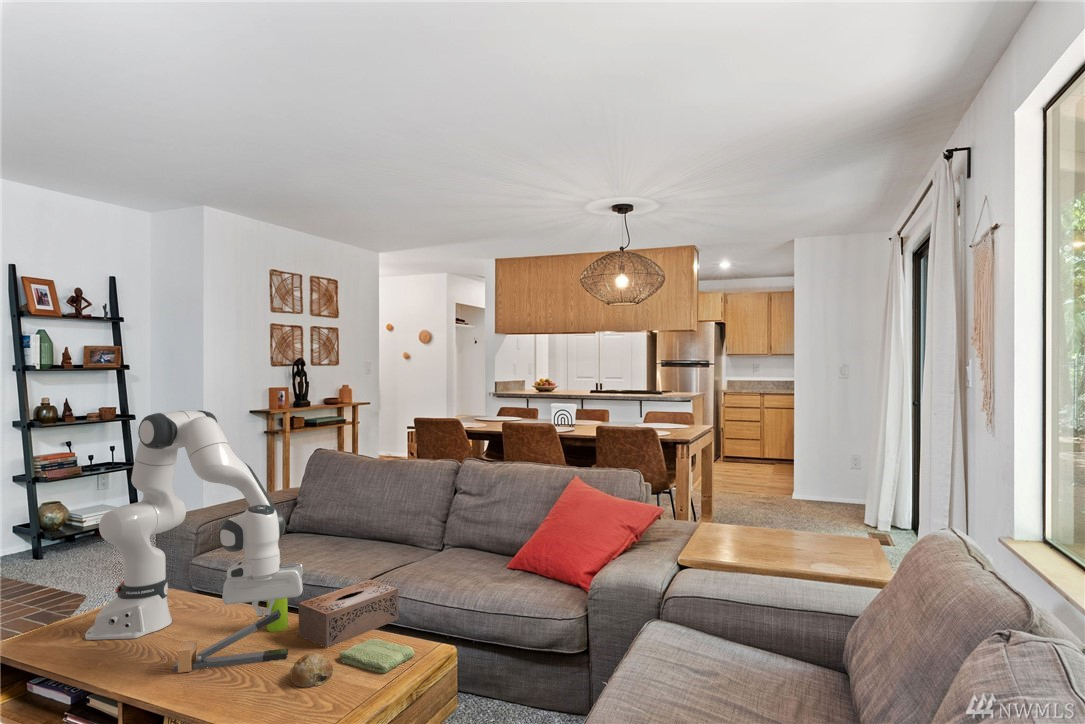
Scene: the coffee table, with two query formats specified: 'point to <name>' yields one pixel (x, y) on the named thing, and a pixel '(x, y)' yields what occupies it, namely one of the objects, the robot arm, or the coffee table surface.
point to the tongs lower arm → (237, 659)
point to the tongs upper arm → (238, 635)
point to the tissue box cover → (347, 612)
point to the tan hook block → (186, 655)
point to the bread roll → (311, 670)
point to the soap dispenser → (283, 620)
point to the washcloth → (377, 655)
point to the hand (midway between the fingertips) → (264, 615)
